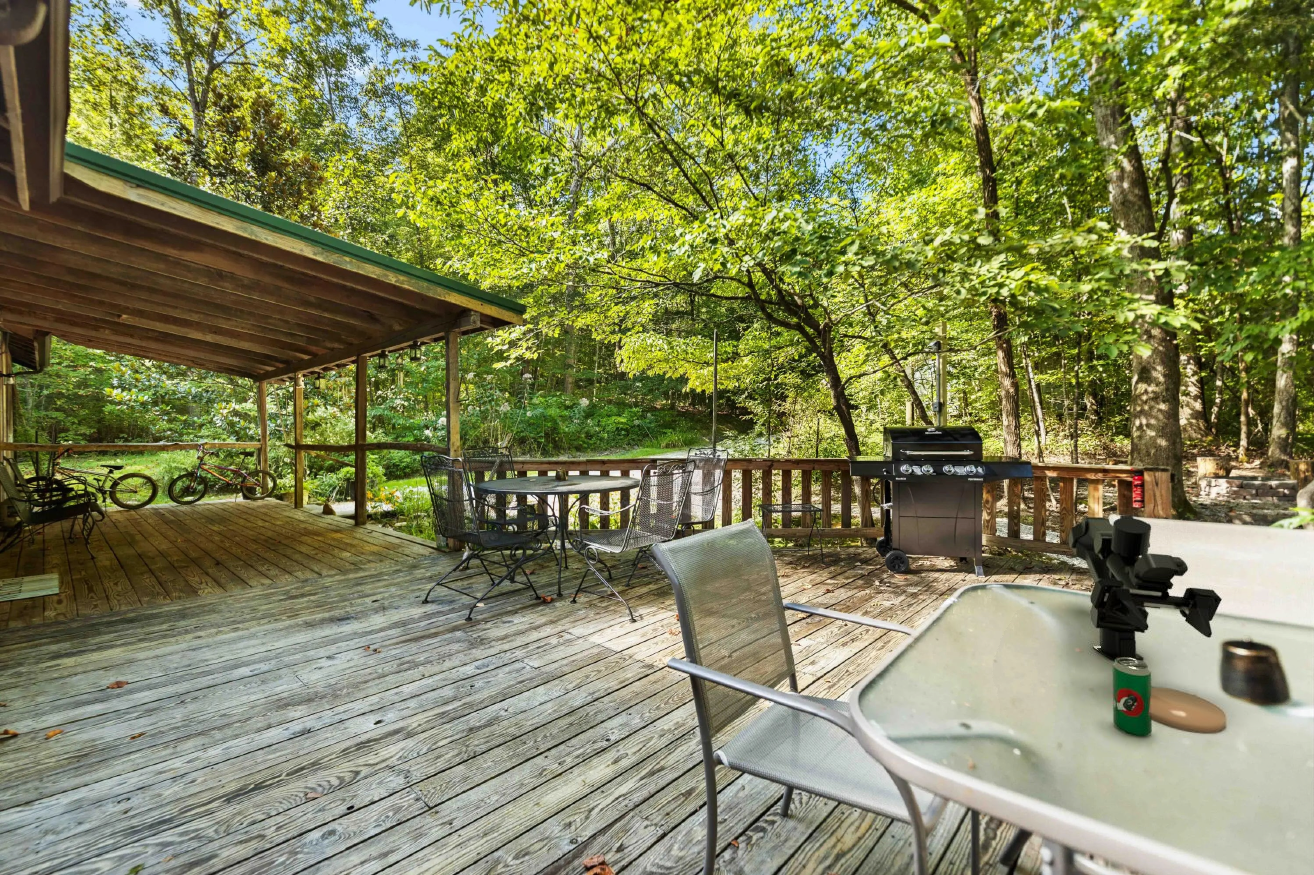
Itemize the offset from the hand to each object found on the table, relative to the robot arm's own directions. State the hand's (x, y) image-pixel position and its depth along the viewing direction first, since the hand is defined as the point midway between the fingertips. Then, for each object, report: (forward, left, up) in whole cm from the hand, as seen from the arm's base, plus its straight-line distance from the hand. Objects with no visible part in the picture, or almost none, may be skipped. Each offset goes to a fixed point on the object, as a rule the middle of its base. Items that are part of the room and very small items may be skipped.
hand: (1178, 631), depth 97 cm
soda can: (+3, -10, -16) cm, 19 cm away
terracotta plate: (-2, +1, -16) cm, 16 cm away
